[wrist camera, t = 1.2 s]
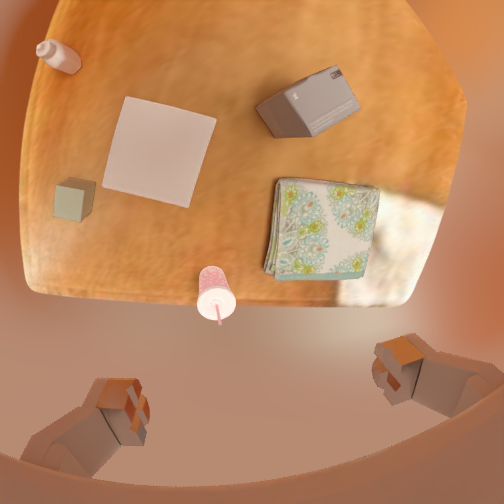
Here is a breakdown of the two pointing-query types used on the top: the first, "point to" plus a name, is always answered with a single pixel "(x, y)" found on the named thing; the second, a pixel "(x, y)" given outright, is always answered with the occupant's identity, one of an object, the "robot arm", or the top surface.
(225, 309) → the beverage cup
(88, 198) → the green block
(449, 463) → the robot arm
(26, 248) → the top surface
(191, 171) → the storage box
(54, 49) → the eye dropper bottle
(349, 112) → the skincare box
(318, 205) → the towel
